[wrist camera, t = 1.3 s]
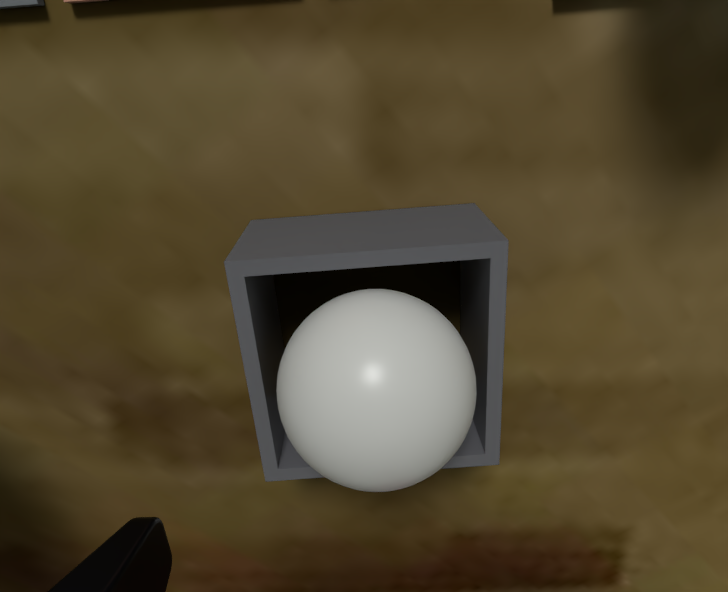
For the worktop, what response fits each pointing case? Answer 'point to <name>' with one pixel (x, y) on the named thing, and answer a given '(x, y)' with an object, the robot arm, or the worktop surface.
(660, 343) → the worktop surface
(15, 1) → the game board
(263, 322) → the grey open box
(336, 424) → the white ball
